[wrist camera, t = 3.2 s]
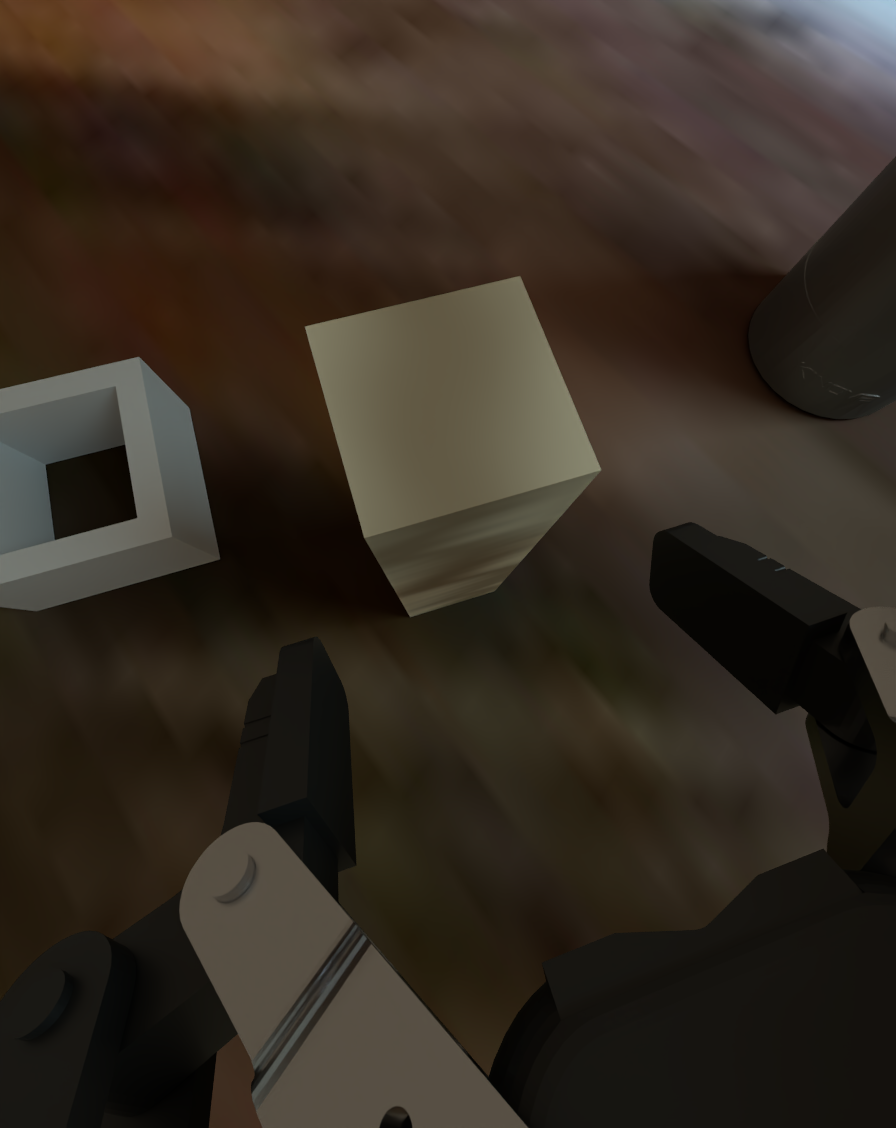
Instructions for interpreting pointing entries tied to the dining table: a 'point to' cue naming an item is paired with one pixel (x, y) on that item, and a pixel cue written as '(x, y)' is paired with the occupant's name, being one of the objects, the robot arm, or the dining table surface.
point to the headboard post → (158, 474)
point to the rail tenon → (452, 436)
